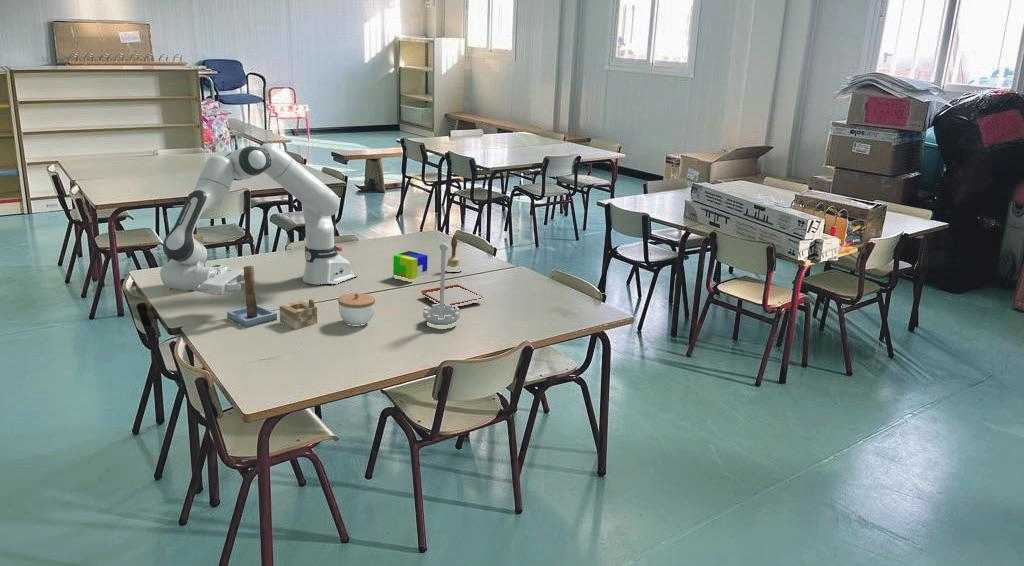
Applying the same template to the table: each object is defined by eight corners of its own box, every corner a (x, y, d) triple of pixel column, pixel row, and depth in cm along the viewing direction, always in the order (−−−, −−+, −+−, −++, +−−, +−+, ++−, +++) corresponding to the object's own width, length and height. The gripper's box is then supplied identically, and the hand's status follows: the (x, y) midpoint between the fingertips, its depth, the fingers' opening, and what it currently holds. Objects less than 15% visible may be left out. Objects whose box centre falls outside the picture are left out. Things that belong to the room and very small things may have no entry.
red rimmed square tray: (484, 304, 306) (484, 296, 305) (445, 312, 295) (445, 304, 294) (457, 291, 319) (457, 284, 318) (419, 298, 308) (419, 290, 307)
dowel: (253, 314, 278) (250, 265, 272) (259, 316, 275) (255, 267, 270) (245, 316, 275) (241, 267, 270) (250, 319, 273) (246, 269, 268)
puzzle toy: (427, 278, 333) (427, 255, 330) (411, 283, 325) (412, 260, 322) (408, 273, 338) (409, 250, 335) (393, 278, 330) (393, 255, 327)
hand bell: (445, 267, 350) (446, 232, 345) (464, 268, 349) (465, 233, 344) (441, 272, 342) (442, 236, 337) (460, 274, 341) (461, 238, 336)
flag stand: (459, 331, 277) (463, 248, 268) (422, 330, 275) (424, 247, 266) (459, 318, 289) (462, 238, 280) (423, 317, 288) (425, 237, 279)
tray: (257, 311, 284) (257, 304, 283) (277, 319, 276) (276, 313, 276) (227, 318, 275) (227, 311, 274) (246, 327, 267) (246, 321, 267)
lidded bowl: (337, 329, 271) (337, 299, 268) (339, 316, 283) (339, 287, 280) (374, 329, 273) (374, 299, 270) (375, 316, 285) (375, 287, 282)
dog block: (301, 316, 281) (301, 293, 278) (317, 323, 276) (316, 300, 273) (280, 322, 274) (279, 299, 272) (295, 329, 269) (294, 305, 266)
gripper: (193, 279, 262) (233, 283, 261) (220, 263, 281) (258, 266, 280) (194, 297, 264) (234, 301, 263) (221, 279, 283) (259, 283, 282)
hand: (247, 283), depth 271 cm, fingers open, 8 cm apart
